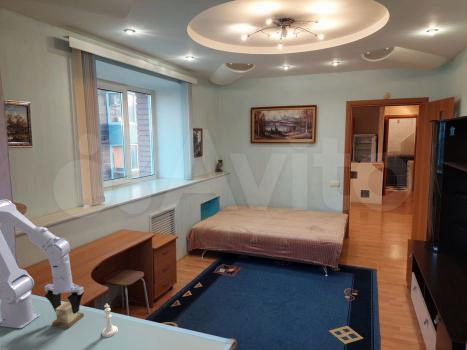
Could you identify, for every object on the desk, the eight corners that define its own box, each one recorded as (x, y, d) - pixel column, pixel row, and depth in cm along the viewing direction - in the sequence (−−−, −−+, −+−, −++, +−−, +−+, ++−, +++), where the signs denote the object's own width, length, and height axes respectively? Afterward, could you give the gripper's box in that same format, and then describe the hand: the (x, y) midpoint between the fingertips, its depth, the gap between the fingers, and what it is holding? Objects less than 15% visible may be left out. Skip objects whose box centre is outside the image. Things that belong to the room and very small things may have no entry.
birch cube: (57, 321, 110) (55, 309, 109) (66, 313, 114) (65, 302, 113) (68, 322, 109) (66, 310, 108) (77, 314, 113) (75, 303, 112)
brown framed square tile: (52, 325, 109) (51, 322, 109) (67, 314, 116) (67, 311, 116) (69, 328, 108) (68, 324, 107) (83, 316, 114) (83, 312, 114)
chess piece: (112, 337, 101) (109, 308, 100) (98, 336, 102) (95, 307, 101) (120, 328, 106) (117, 300, 105) (107, 327, 107) (104, 299, 106)
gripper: (35, 278, 107) (40, 315, 109) (71, 281, 104) (76, 319, 106) (51, 269, 114) (56, 304, 116) (85, 272, 110) (90, 308, 112)
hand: (67, 311), depth 111 cm, fingers open, 7 cm apart
